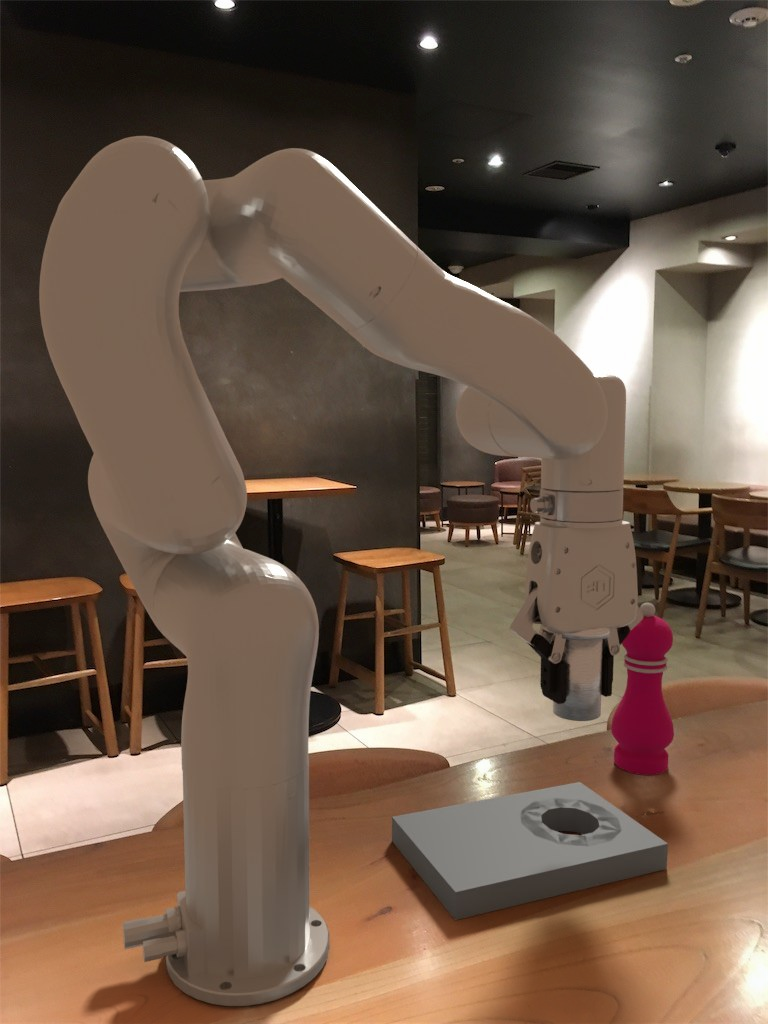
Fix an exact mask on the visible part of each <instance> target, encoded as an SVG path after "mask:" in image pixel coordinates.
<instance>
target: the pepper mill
mask: <svg viewBox="0 0 768 1024" xmlns="http://www.w3.org/2000/svg"><path fill="white" fill-rule="evenodd" d="M639 608H640V610H641V611H642V613H643V619H642V620H641V621H640V622H639V623H638V624H637V625H636V626H635V627H634V628H633V629H632V630H630V632H629V634H628V636H627V637H626V638H625V640H624V641H623V642H622V643H621V646H622V647H623V649H625V651H626V652H625V653H624V654H623V662H622V663H623V667H625V668H626V671H627V672H626V674H627V678H626V679H627V680H626V688H625V691H624V694H623V695H622V697H621V700H620V702H619V703H618V705H617V707H616V709H615V711H614V713H613V715H612V720H611V725H610V729H611V730H610V731H611V734H612V736H613V738H614V739H615V740H616V742H617V743H618V744H616V745H615V747H614V752H613V762H614V764H615V765H616V766H617V767H618V768H620V769H621V770H623V771H625V772H628V773H631V774H636V775H642V776H643V775H645V776H654V775H656V776H657V775H660V774H663V773H665V772H666V771H667V770H668V768H669V757H670V756H669V753H668V751H667V750H666V748H667V747H669V746H670V744H671V743H672V742H673V740H674V737H675V733H674V732H675V730H674V723H673V720H672V715H671V714H670V712H669V709H668V706H667V704H666V702H665V699H664V695H663V687H662V686H663V683H662V682H663V681H662V680H663V675H664V672H665V671H667V669H668V664H667V662H668V658H667V656H666V654H667V653H668V652H669V651H670V650H671V648H672V646H673V642H674V635H673V634H674V633H673V631H672V628H671V627H670V625H669V623H668V622H666V621H665V620H664V619H663V618H661V617H659V616H656V615H655V614H656V607H655V605H654V604H653V603H651V602H644V603H642V604H641V605H640V606H639Z"/></svg>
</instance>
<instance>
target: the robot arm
mask: <svg viewBox="0 0 768 1024" xmlns="http://www.w3.org/2000/svg"><path fill="white" fill-rule="evenodd" d="M45 242H46V243H45V246H44V251H43V254H42V255H43V256H42V261H41V265H40V266H41V267H40V273H39V274H40V275H39V289H38V292H39V294H38V295H39V296H38V297H39V299H38V300H39V312H40V313H39V314H40V321H41V328H42V332H43V337H44V341H45V345H46V348H47V351H48V354H49V357H50V360H51V363H52V365H53V368H54V371H55V372H56V375H57V376H58V379H59V382H60V384H61V386H62V388H63V390H64V392H65V395H66V396H67V399H68V400H69V403H70V405H71V407H72V410H73V412H74V414H75V416H76V419H77V421H78V423H79V425H80V428H81V430H82V432H83V434H84V436H85V438H86V440H87V442H88V444H89V447H90V448H91V451H92V453H93V455H92V456H91V458H90V459H91V460H90V463H89V468H88V473H87V486H88V487H87V488H88V493H89V497H90V500H91V504H92V506H93V510H94V512H95V514H96V517H97V518H98V519H97V520H98V522H100V523H99V524H100V525H101V527H102V529H103V531H104V533H105V534H106V537H107V539H108V540H109V542H110V545H111V546H112V548H113V550H114V553H115V554H116V556H117V558H118V560H119V561H120V564H121V565H122V567H123V570H124V571H125V573H126V575H127V577H128V579H129V581H130V583H131V585H132V586H133V589H134V590H135V592H136V594H137V595H138V598H139V599H140V601H141V603H142V605H143V606H144V608H145V610H146V612H147V614H148V615H149V617H150V619H151V621H152V622H153V624H154V626H155V627H156V628H157V630H158V631H159V632H160V633H161V634H162V636H163V637H165V638H166V639H167V640H168V641H169V642H170V643H171V644H172V645H173V647H175V648H177V649H178V650H179V651H180V652H181V653H182V654H183V655H184V656H185V657H186V660H187V662H186V663H187V681H186V682H187V683H186V687H185V688H186V690H185V693H184V694H185V695H184V701H183V707H182V708H183V709H182V716H181V717H182V719H181V735H180V736H181V739H180V740H181V741H180V744H181V745H180V746H181V749H180V750H181V770H182V798H183V799H182V801H183V803H182V804H183V807H182V809H183V837H184V838H183V839H184V840H183V842H184V845H183V846H184V879H185V880H184V882H185V883H184V885H185V886H184V887H185V888H184V889H185V890H182V891H179V892H177V894H176V902H177V904H176V905H177V906H174V907H169V908H166V909H164V914H159V915H154V916H149V917H147V916H144V917H139V918H134V919H131V920H125V921H122V939H123V947H124V950H128V949H133V948H137V947H142V956H143V963H146V962H151V961H154V960H160V959H162V958H163V957H165V962H166V963H165V964H166V966H165V967H166V970H167V973H168V977H169V978H170V979H171V981H172V983H173V984H174V985H175V986H176V987H177V988H179V990H180V991H182V992H183V993H185V995H188V996H190V997H192V998H194V999H196V1000H198V1001H201V1002H204V1003H208V1004H211V1005H218V1006H225V1007H247V1006H254V1005H261V1004H265V1003H268V1002H270V1003H271V1002H273V1001H277V1000H279V999H283V998H284V997H287V996H289V995H291V994H293V993H294V992H297V991H298V990H300V989H301V988H304V987H305V986H306V985H307V984H308V983H310V982H311V981H312V980H314V978H316V976H317V975H318V974H319V973H320V972H321V970H322V969H323V968H324V966H325V964H326V962H327V959H328V958H329V953H330V931H329V927H328V924H327V923H326V921H325V920H324V918H323V916H322V915H321V914H320V913H319V912H318V911H317V910H316V909H315V908H313V907H312V906H311V905H310V776H309V775H310V772H309V771H310V764H309V763H310V757H309V729H310V727H309V723H310V721H309V720H310V719H309V718H310V703H311V702H310V701H311V690H312V682H313V677H314V671H315V665H316V659H317V654H318V647H319V639H320V638H319V636H320V633H319V630H320V626H319V625H320V624H319V618H318V617H319V616H318V612H317V607H316V605H315V604H316V603H315V602H314V599H313V597H312V594H311V593H310V591H309V589H308V588H307V586H306V585H305V583H304V582H303V581H302V579H300V577H299V576H297V575H296V574H295V572H293V571H292V570H291V569H289V568H288V567H287V566H286V565H284V564H282V563H280V562H279V561H277V560H274V559H273V558H270V557H268V556H265V555H263V554H260V553H257V552H256V551H253V550H249V549H246V548H243V546H242V543H241V541H240V540H239V538H238V536H237V534H236V532H237V530H238V529H239V528H240V526H241V524H242V522H243V520H244V517H245V512H246V509H247V502H248V493H247V492H248V491H247V489H248V488H247V484H246V481H245V476H244V473H243V470H242V468H241V465H240V463H239V461H238V460H237V457H236V455H235V453H234V451H233V449H232V447H231V445H230V442H229V440H228V439H227V437H226V435H225V432H224V429H223V428H222V426H221V424H220V421H219V420H218V416H217V415H216V413H215V411H214V409H213V406H212V404H211V402H210V400H209V398H208V396H207V393H206V392H205V390H204V386H203V385H202V383H201V380H200V379H199V376H198V374H197V371H196V368H195V366H194V363H193V361H192V358H191V355H190V353H189V350H188V348H187V344H186V341H185V339H184V336H183V332H182V327H181V320H180V315H179V314H180V313H179V312H180V308H179V307H180V305H179V304H180V293H185V292H199V291H201V292H202V291H213V290H225V289H231V288H232V289H233V288H241V287H249V286H250V287H251V286H256V285H260V284H261V285H262V284H268V283H270V282H274V281H276V280H281V279H283V280H285V281H286V282H287V283H288V284H290V285H291V286H292V287H293V288H294V289H296V290H297V291H298V292H299V293H300V294H302V296H303V297H305V298H306V299H308V300H309V301H310V302H312V303H313V304H314V305H315V306H317V307H318V309H320V310H321V311H322V312H323V313H324V314H325V315H327V316H328V317H329V318H330V319H331V320H333V321H334V322H335V323H336V324H337V325H338V326H339V327H340V328H342V329H343V330H344V331H345V332H346V333H348V334H349V335H350V336H351V337H352V338H354V339H355V340H356V341H357V342H358V343H360V345H362V346H363V347H364V348H365V349H367V350H368V351H369V352H370V353H372V354H373V355H375V356H377V357H379V358H381V359H384V360H386V361H389V362H392V363H393V364H396V365H400V366H402V367H404V368H407V369H411V370H415V371H420V372H424V373H428V374H431V375H436V376H438V377H443V378H446V379H449V380H451V381H454V382H457V383H459V384H461V385H463V386H466V388H465V389H464V390H463V392H462V393H461V395H460V397H459V398H458V402H457V406H456V410H455V421H456V425H457V428H458V430H459V432H460V434H461V435H462V437H463V438H464V440H465V441H466V443H468V444H469V445H470V446H472V448H473V447H474V448H475V449H476V450H479V451H480V452H483V453H486V454H489V455H493V456H501V457H514V458H531V459H533V458H534V459H535V458H536V459H537V458H538V459H540V460H541V461H540V462H541V463H540V465H541V469H540V472H541V473H540V489H539V496H538V497H533V498H531V499H530V502H529V507H530V508H529V509H530V511H531V512H532V513H539V515H538V516H539V517H540V521H536V522H534V526H533V530H532V534H531V539H530V544H529V549H528V555H527V563H526V572H525V584H524V585H525V586H524V603H523V605H522V606H521V608H520V609H519V611H518V612H517V615H516V616H515V617H514V619H513V620H512V622H511V624H510V627H509V630H510V632H511V633H513V634H514V635H516V636H517V637H519V638H520V639H521V640H523V641H524V642H525V643H526V644H527V645H528V646H530V648H531V649H532V650H533V651H534V652H535V654H536V655H537V656H539V657H540V681H539V682H540V689H541V692H542V695H543V696H544V697H546V698H548V700H551V701H552V702H553V701H554V702H556V703H557V704H563V703H565V701H566V686H567V665H566V663H565V662H563V661H561V659H562V655H563V650H564V646H565V641H566V639H563V638H562V634H571V633H578V632H580V631H583V630H588V629H596V628H605V627H608V628H610V629H611V635H610V636H609V637H607V638H605V639H603V648H602V683H601V696H602V697H611V696H612V694H613V682H614V660H615V659H614V658H615V656H617V655H618V654H619V653H620V651H621V646H622V644H621V643H622V642H623V641H624V640H625V638H626V637H627V636H628V634H629V632H630V630H632V629H633V628H634V627H635V626H636V625H637V624H638V623H639V622H640V621H641V620H642V619H643V613H642V611H641V610H640V606H639V605H638V597H639V595H638V571H637V570H638V568H637V557H636V556H637V555H636V550H635V543H634V542H635V541H634V536H633V531H632V528H631V522H629V521H625V520H623V516H624V515H623V513H624V512H623V511H624V484H625V482H624V481H625V479H624V478H625V476H624V474H625V446H626V442H625V441H626V420H627V418H626V415H627V413H626V411H627V390H626V385H625V383H624V381H623V380H622V379H621V378H620V377H619V376H616V375H611V374H603V373H602V374H600V373H599V374H597V373H596V374H594V373H593V372H592V371H591V369H590V368H589V367H588V366H587V364H586V363H585V362H584V361H583V360H582V359H581V358H580V357H579V356H578V355H577V354H576V353H575V352H574V351H573V350H572V349H571V348H570V347H569V346H568V345H567V344H566V343H565V341H563V340H562V339H561V338H560V337H559V336H558V335H557V334H556V333H555V332H554V331H553V330H552V329H550V328H549V327H547V326H546V325H544V324H543V323H542V322H540V321H539V320H537V318H535V317H534V316H531V315H530V314H528V313H527V312H525V311H523V310H521V309H520V308H517V307H516V306H513V305H511V303H508V302H505V301H503V300H501V299H500V298H497V297H496V296H494V295H492V294H490V293H488V292H486V291H485V290H483V289H480V288H479V287H478V286H475V285H473V284H471V283H469V282H467V281H464V280H462V279H460V278H458V277H455V276H453V275H451V274H450V273H447V272H446V271H445V270H444V269H442V268H441V267H440V266H439V265H437V263H435V262H434V261H433V260H432V259H431V258H430V257H429V256H428V255H427V254H426V253H425V252H424V251H423V250H421V249H420V248H419V247H418V245H416V243H414V242H413V241H412V240H411V239H410V238H409V237H408V236H407V235H406V234H405V233H404V232H403V231H402V230H401V229H400V228H399V227H398V226H397V225H396V224H394V223H393V222H392V221H391V220H390V219H389V217H388V216H386V215H385V214H384V212H382V210H380V209H379V208H378V207H377V206H376V205H375V204H374V203H373V202H372V201H371V200H370V199H369V198H368V197H367V196H366V195H365V194H364V193H362V191H361V190H359V189H358V188H357V187H356V186H355V185H354V184H353V183H352V182H351V181H350V180H349V179H348V178H347V177H346V176H345V175H344V174H343V173H342V172H341V171H340V170H339V169H338V168H337V167H336V166H334V165H333V164H332V163H331V162H330V161H329V160H327V159H326V158H324V157H323V156H321V155H319V154H318V153H316V152H314V151H312V150H309V149H305V148H297V147H293V148H291V147H289V148H284V149H279V150H276V151H274V152H272V153H269V154H267V155H265V156H263V157H262V158H260V159H258V160H257V161H255V162H252V164H250V165H248V167H246V168H244V169H243V170H241V171H240V172H238V173H237V174H235V175H234V176H231V177H224V178H219V179H218V178H217V179H206V180H205V179H203V177H202V176H201V174H200V172H199V170H198V168H197V166H196V165H195V164H194V162H193V160H191V158H189V156H188V155H187V154H186V153H185V152H184V151H183V150H182V149H180V148H179V147H177V146H176V145H174V144H173V143H171V142H169V141H167V140H165V139H162V138H159V137H154V136H150V135H136V136H135V135H134V136H129V137H125V138H122V139H120V140H118V141H117V140H116V141H115V142H112V143H110V144H108V145H106V146H104V147H103V148H102V149H101V150H99V151H98V152H97V153H96V154H95V155H93V156H92V158H90V160H89V161H88V162H87V163H86V164H85V166H84V167H83V169H81V172H80V173H79V174H78V176H77V177H76V178H75V180H74V181H73V182H72V184H71V186H70V187H69V189H68V190H67V191H66V192H65V194H64V195H63V196H62V198H61V200H60V202H59V203H58V206H57V209H56V211H55V215H54V217H53V219H52V222H51V224H50V227H49V230H48V234H47V239H46V240H45ZM534 624H535V625H540V627H539V630H538V631H539V632H537V631H535V630H534V627H533V625H534ZM548 632H549V633H552V634H553V635H550V634H549V633H548Z"/></svg>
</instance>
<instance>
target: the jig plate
mask: <svg viewBox="0 0 768 1024" xmlns="http://www.w3.org/2000/svg"><path fill="white" fill-rule="evenodd" d="M559 831H560V832H559ZM562 831H563V832H571V833H572V832H573V833H574V832H575V833H576V834H570V833H569V834H567V833H563V832H562ZM579 834H580V835H579ZM391 841H392V843H393V844H394V845H395V846H396V848H397V849H398V850H399V852H400V854H402V855H403V857H404V858H405V859H406V860H407V862H408V863H409V864H410V865H411V867H412V868H413V869H414V871H415V872H416V873H417V874H418V876H419V877H420V878H421V879H422V881H423V882H424V883H425V884H426V886H427V887H428V888H429V890H430V891H431V892H432V893H433V894H434V895H435V897H436V898H437V899H438V901H439V902H440V903H441V904H442V906H443V908H444V909H445V910H446V911H447V912H448V913H449V915H451V917H452V918H453V920H454V921H457V920H461V919H465V918H469V917H475V916H477V915H483V914H486V913H490V912H495V911H498V910H503V909H507V908H511V907H515V906H519V905H524V904H528V903H531V902H536V901H540V900H544V899H549V898H552V897H557V896H561V895H565V894H569V893H573V892H577V891H582V890H585V889H590V888H593V887H597V886H602V885H605V884H610V883H615V882H618V881H621V880H622V881H623V880H626V879H630V878H631V879H632V878H635V877H636V878H637V877H638V876H639V877H640V876H643V875H647V874H648V875H649V874H652V873H655V872H660V871H664V870H667V868H668V851H669V849H668V848H669V843H668V842H666V841H665V840H663V839H662V838H661V837H659V836H657V834H655V833H653V831H652V830H649V829H648V828H646V827H645V826H644V825H642V824H640V823H639V822H638V821H637V820H635V819H633V818H632V817H631V816H630V815H628V814H626V813H625V812H624V811H622V810H621V809H619V808H618V807H617V806H615V805H613V804H612V803H611V802H609V801H608V800H606V799H605V798H603V797H602V796H601V795H599V794H598V793H597V792H595V791H594V790H592V789H591V788H589V786H586V785H585V784H583V783H582V782H580V781H577V782H571V783H567V784H561V785H556V786H551V787H546V788H541V789H535V790H528V791H524V792H518V793H513V794H508V795H502V796H498V797H497V796H496V797H491V798H487V799H480V800H477V801H476V800H475V801H468V802H465V803H459V804H453V805H448V806H443V807H442V806H441V807H437V808H433V809H427V810H422V811H415V812H410V813H405V814H400V815H399V814H398V815H395V816H391Z"/></svg>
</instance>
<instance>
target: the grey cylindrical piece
mask: <svg viewBox="0 0 768 1024" xmlns="http://www.w3.org/2000/svg"><path fill="white" fill-rule="evenodd" d="M548 633H549V632H548ZM549 634H550V635H552V636H553V634H552V633H549ZM610 635H611V629H610V628H608V627H605V628H596V629H588V630H583V631H580V632H578V633H571V634H562V638H563V639H566V641H565V646H564V650H563V655H562V659H561V661H563V662H565V663H566V665H567V686H566V701H565V703H563V704H557V703H556V702H554V701H552V713H553V714H554V715H555V716H557V717H558V718H561V719H562V720H567V721H574V722H589V721H594V720H597V719H599V718H600V717H601V715H602V714H601V713H602V711H601V710H602V707H601V706H602V695H601V683H602V648H603V639H605V638H607V637H609V636H610Z"/></svg>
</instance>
